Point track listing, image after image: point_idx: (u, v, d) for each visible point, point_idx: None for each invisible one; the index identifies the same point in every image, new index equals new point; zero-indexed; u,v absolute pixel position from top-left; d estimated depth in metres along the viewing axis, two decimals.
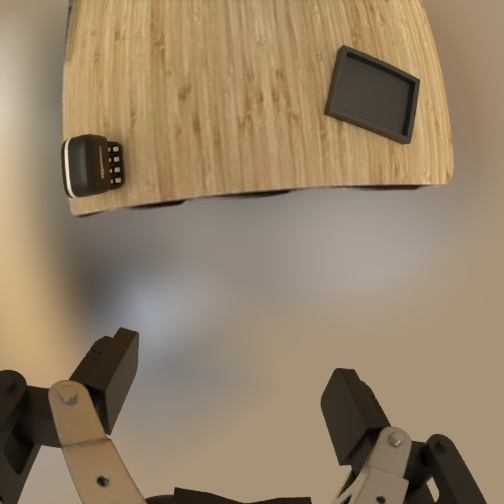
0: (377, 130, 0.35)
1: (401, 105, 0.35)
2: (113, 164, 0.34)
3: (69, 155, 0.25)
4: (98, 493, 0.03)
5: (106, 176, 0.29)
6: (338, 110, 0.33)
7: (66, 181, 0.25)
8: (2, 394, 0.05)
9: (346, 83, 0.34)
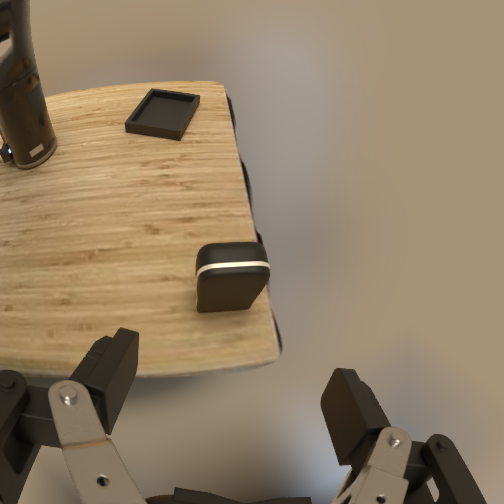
0: (192, 110, 0.50)
1: (170, 101, 0.52)
2: None
3: (222, 261, 0.26)
4: (98, 493, 0.03)
5: None
6: (179, 126, 0.46)
7: (253, 266, 0.26)
8: (2, 394, 0.05)
9: None
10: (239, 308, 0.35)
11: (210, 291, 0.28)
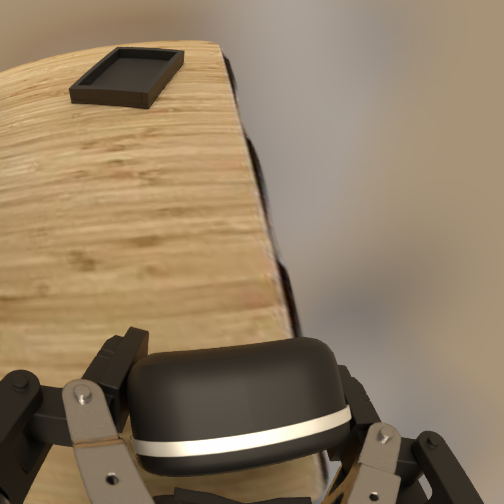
0: (171, 68, 0.30)
1: (142, 61, 0.32)
2: None
3: (204, 431, 0.06)
4: (106, 491, 0.03)
5: None
6: (147, 87, 0.27)
7: (308, 436, 0.07)
8: (14, 393, 0.05)
9: None
10: None
11: None
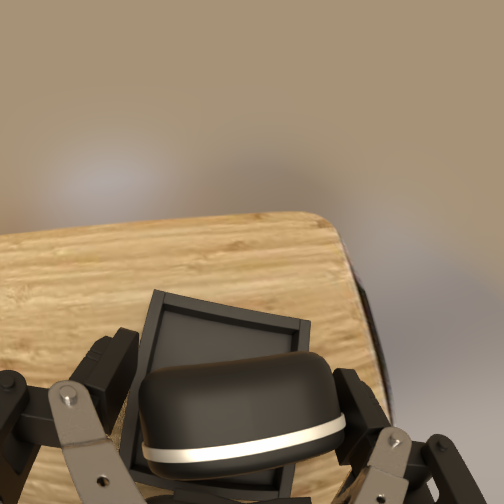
0: None
1: (222, 336, 0.19)
2: None
3: (210, 440, 0.07)
4: (98, 493, 0.03)
5: None
6: (283, 485, 0.14)
7: (305, 442, 0.07)
8: (2, 393, 0.05)
9: None
10: None
11: None
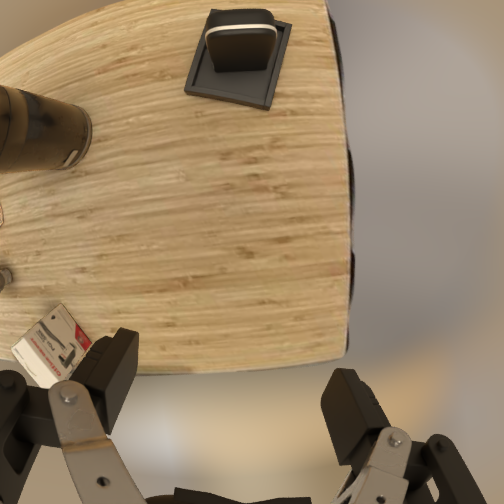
0: None
1: None
2: None
3: (227, 24, 0.21)
4: (98, 493, 0.03)
5: None
6: (268, 97, 0.32)
7: (257, 28, 0.21)
8: (2, 393, 0.05)
9: (230, 86, 0.32)
10: (255, 68, 0.31)
11: (220, 51, 0.25)
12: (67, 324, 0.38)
